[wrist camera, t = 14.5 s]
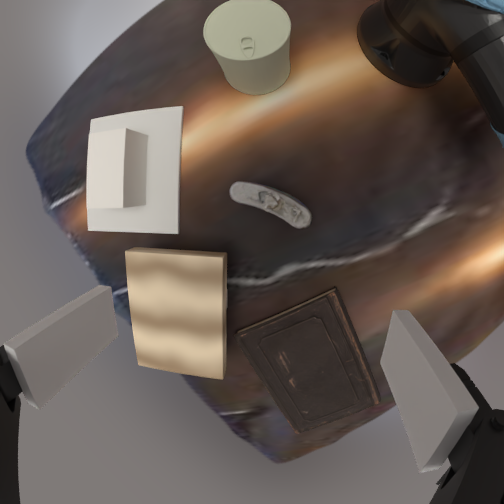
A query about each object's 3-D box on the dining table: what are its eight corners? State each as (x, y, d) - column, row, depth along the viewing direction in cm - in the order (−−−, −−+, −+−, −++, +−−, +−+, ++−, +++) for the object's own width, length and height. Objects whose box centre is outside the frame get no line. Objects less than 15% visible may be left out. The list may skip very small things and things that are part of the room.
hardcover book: (296, 425, 46) (296, 434, 44) (235, 328, 43) (232, 335, 41) (379, 393, 43) (382, 401, 41) (335, 284, 40) (337, 290, 38)
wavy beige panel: (134, 247, 35) (125, 251, 32) (227, 252, 34) (222, 257, 31) (145, 356, 38) (138, 364, 36) (226, 368, 37) (222, 379, 35)
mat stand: (93, 120, 38) (66, 112, 31) (183, 107, 36) (164, 92, 29) (90, 230, 42) (62, 237, 35) (179, 233, 40) (159, 242, 33)
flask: (238, 196, 38) (221, 198, 28) (246, 176, 38) (232, 170, 27) (302, 224, 38) (310, 236, 28) (311, 203, 37) (322, 208, 27)
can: (226, 99, 36) (202, 65, 24) (222, 45, 34) (200, 1, 22) (294, 92, 34) (297, 54, 23) (286, 37, 33) (285, -10, 21)
